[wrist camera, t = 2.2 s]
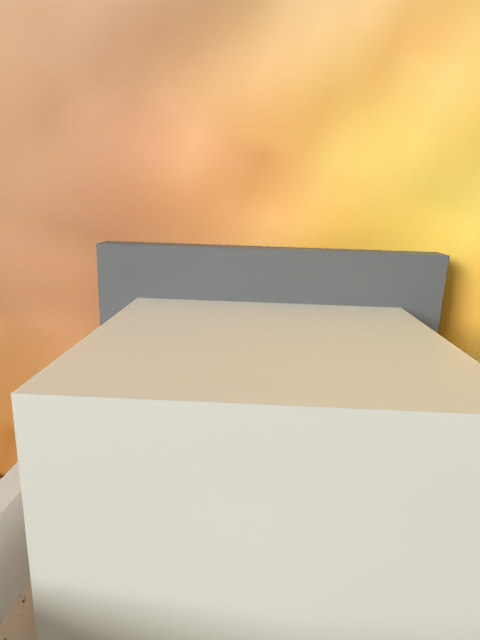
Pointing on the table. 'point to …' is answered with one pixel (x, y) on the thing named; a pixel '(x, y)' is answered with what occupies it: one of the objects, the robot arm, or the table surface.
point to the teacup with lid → (20, 618)
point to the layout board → (271, 276)
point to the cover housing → (253, 477)
